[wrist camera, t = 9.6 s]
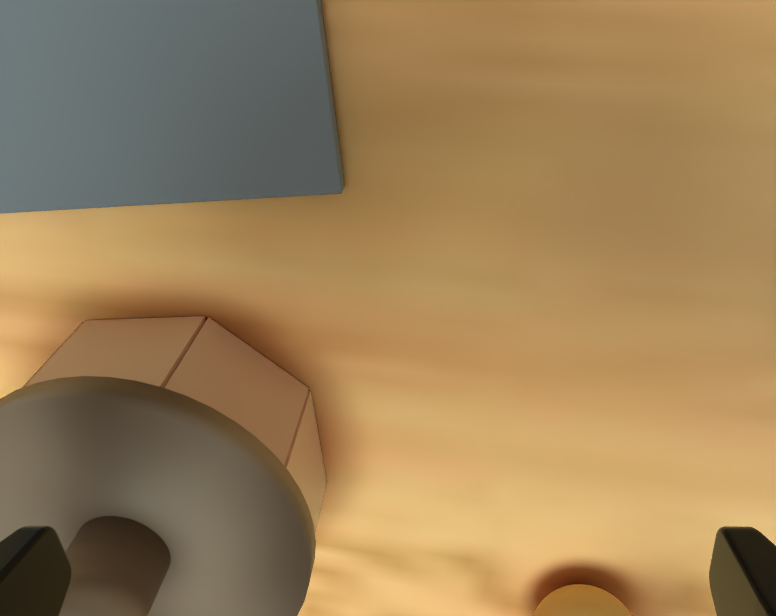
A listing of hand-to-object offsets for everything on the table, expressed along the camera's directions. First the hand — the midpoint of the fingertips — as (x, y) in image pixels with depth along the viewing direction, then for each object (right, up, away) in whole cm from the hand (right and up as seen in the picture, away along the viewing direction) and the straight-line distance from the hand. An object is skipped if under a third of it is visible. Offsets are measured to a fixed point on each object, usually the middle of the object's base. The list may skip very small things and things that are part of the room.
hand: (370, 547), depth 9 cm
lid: (-7, -3, +12) cm, 14 cm away
